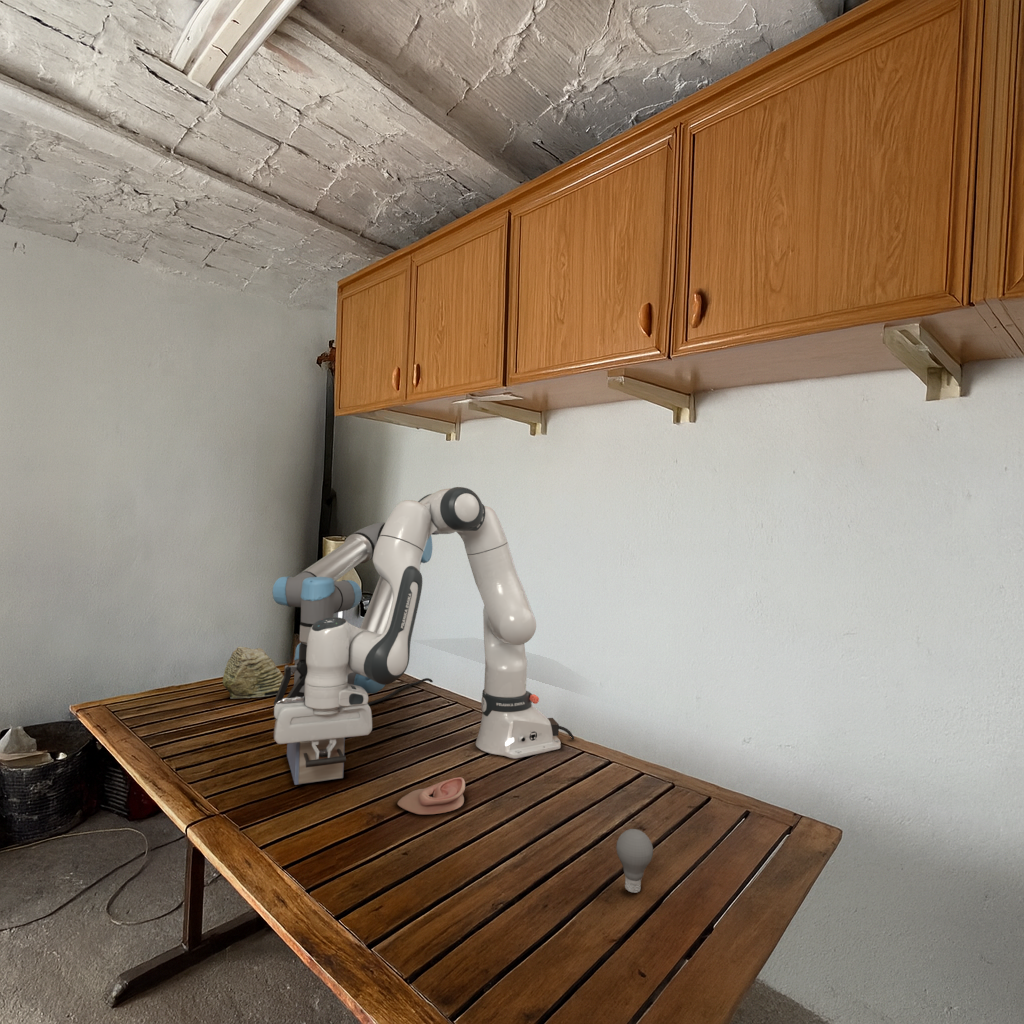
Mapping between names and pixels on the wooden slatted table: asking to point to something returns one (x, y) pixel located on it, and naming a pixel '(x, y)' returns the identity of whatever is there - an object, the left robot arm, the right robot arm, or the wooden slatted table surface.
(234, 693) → the fossil
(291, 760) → the cabinet
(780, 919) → the wooden slatted table surface
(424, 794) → the anatomical model
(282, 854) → the wooden slatted table surface
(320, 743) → the drawer
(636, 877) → the light bulb
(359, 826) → the wooden slatted table surface
